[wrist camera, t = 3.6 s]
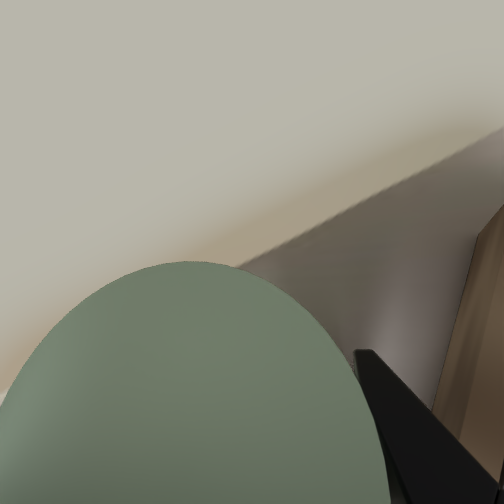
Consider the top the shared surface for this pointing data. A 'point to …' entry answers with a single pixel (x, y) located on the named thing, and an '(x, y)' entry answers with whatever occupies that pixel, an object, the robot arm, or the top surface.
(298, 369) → the pale green cylinder
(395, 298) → the top surface
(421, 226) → the top surface
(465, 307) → the dock
